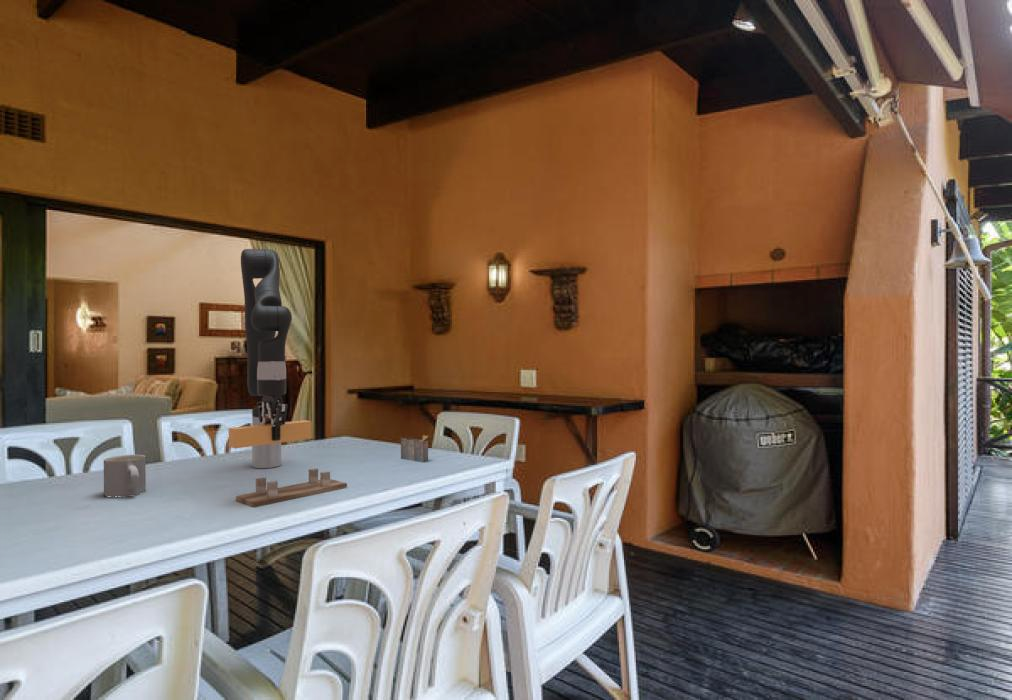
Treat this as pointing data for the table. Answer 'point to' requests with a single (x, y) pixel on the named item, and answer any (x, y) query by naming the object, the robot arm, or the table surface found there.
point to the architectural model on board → (414, 449)
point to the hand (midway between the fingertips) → (272, 439)
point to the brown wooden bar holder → (290, 489)
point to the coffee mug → (124, 475)
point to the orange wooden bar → (269, 434)
